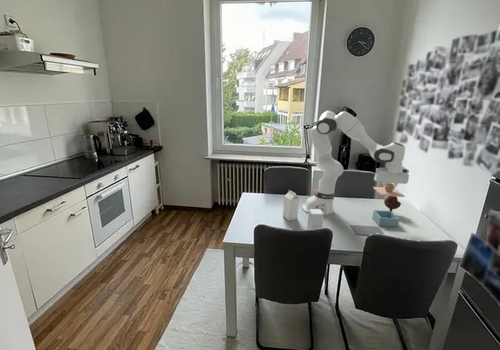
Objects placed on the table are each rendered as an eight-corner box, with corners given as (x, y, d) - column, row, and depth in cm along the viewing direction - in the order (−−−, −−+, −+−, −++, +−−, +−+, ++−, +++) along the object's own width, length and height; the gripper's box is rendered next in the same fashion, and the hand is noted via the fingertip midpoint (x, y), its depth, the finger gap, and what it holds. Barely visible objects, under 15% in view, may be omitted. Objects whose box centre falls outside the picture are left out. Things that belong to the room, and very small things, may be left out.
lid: (381, 195, 173) (383, 186, 172) (373, 187, 187) (374, 179, 185) (404, 197, 173) (406, 188, 171) (394, 189, 186) (396, 181, 185)
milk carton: (288, 220, 185) (291, 194, 179) (282, 216, 190) (284, 190, 185) (297, 219, 188) (300, 192, 182) (291, 214, 194) (293, 189, 188)
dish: (378, 226, 183) (380, 217, 181) (372, 217, 194) (373, 210, 192) (397, 227, 182) (399, 219, 180) (389, 219, 194) (391, 211, 192)
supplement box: (318, 227, 178) (320, 209, 174) (321, 232, 171) (324, 214, 167) (307, 226, 178) (309, 208, 174) (309, 232, 170) (311, 213, 167)
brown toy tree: (400, 218, 196) (404, 198, 192) (383, 216, 198) (387, 196, 194) (396, 211, 206) (400, 193, 202) (380, 210, 208) (383, 191, 204)
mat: (356, 234, 170) (356, 233, 170) (350, 225, 182) (350, 224, 181) (385, 236, 169) (386, 235, 169) (378, 227, 181) (378, 226, 181)
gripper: (378, 168, 172) (374, 189, 177) (412, 170, 172) (407, 191, 176) (374, 166, 178) (370, 186, 183) (406, 168, 178) (402, 188, 182)
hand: (388, 188), depth 179 cm, fingers closed on lid, 3 cm apart
